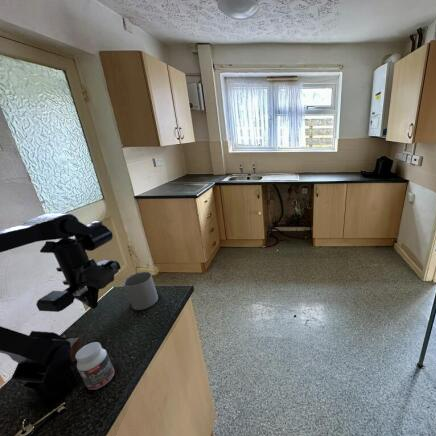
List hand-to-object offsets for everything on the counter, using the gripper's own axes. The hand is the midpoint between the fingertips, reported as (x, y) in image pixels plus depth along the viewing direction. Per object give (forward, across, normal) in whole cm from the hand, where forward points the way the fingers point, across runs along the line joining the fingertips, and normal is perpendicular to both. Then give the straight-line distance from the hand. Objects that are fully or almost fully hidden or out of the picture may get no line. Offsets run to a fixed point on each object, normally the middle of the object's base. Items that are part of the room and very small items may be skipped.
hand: (94, 307), depth 67 cm
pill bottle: (+12, -11, -8) cm, 19 cm away
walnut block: (+12, -6, +6) cm, 15 cm away
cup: (+12, +16, 0) cm, 20 cm away
